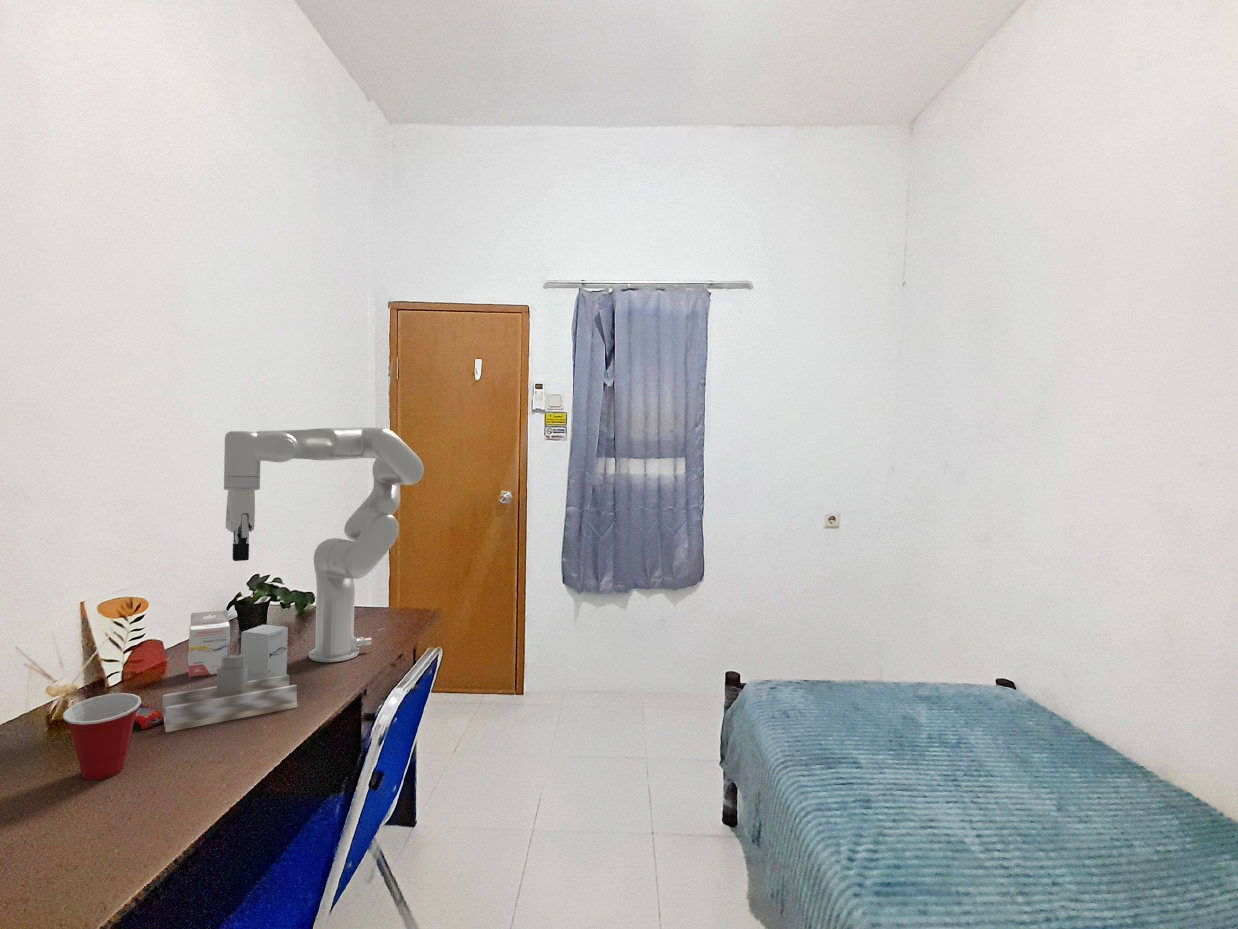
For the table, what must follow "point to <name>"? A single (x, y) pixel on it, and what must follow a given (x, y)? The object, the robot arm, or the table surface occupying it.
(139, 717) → the race car
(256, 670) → the supplement box
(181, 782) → the table surface
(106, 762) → the plastic cup
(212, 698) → the rail board
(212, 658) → the ink cartridge box
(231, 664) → the power adapter
